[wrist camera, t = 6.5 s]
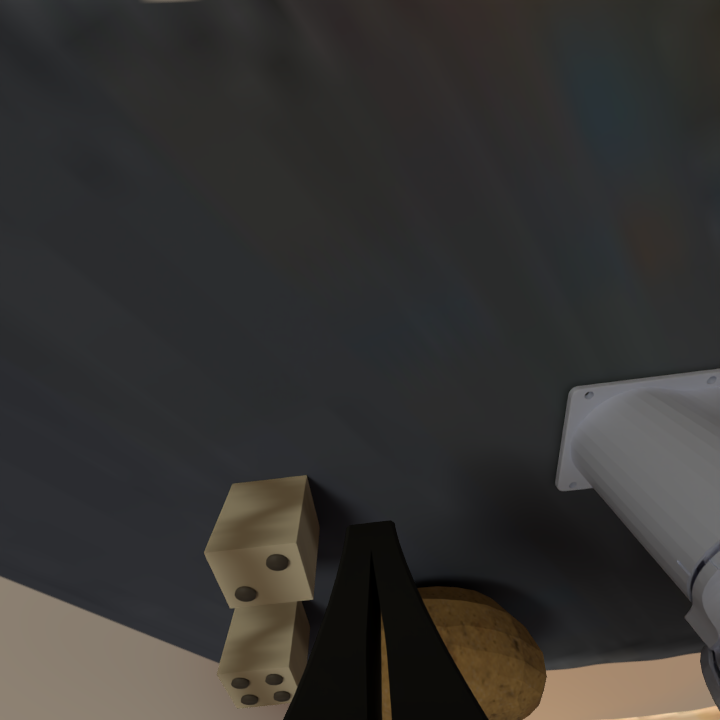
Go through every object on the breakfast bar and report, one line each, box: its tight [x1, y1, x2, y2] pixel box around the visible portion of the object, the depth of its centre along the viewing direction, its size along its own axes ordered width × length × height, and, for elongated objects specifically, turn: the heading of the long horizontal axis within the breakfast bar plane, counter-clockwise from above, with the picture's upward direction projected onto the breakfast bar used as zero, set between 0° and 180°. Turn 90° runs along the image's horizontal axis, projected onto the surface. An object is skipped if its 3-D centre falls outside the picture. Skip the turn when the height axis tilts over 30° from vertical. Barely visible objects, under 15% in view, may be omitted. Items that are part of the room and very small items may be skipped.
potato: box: [381, 586, 547, 720], centre depth 25 cm, size 10×14×8 cm
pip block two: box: [204, 475, 320, 608], centre depth 21 cm, size 5×5×5 cm
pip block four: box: [217, 601, 310, 709], centre depth 27 cm, size 5×5×5 cm
